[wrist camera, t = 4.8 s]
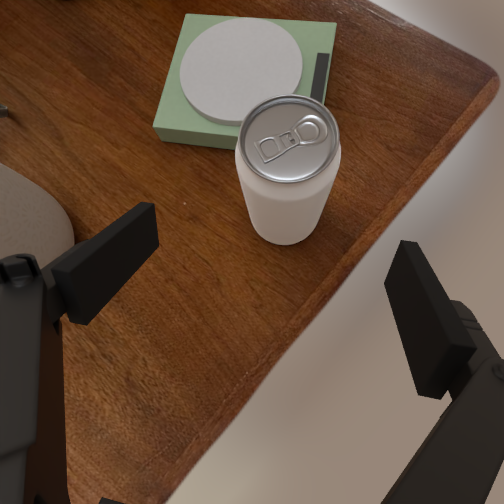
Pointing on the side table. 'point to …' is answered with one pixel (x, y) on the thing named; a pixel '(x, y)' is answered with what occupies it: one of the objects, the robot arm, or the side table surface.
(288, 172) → the can
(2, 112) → the binoculars
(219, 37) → the scale
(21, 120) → the side table surface
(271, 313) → the side table surface
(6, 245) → the planter
